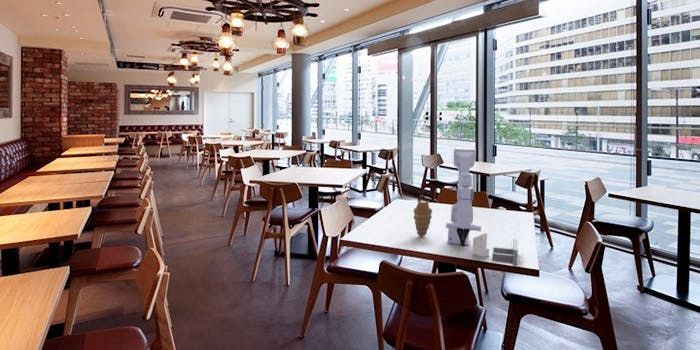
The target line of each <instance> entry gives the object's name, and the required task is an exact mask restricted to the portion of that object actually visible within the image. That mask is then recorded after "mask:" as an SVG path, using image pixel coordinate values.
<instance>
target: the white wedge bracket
mask: <svg viewBox="0 0 700 350" xmlns="http://www.w3.org/2000/svg"><path fill="white" fill-rule="evenodd" d="M487 243H488V233H487V232H486V233H482V234H480V235H477V236H475V237H473V240H472V253H471V254H472V255H476V256H479V257H489V256H490V248H489V247H487Z"/></svg>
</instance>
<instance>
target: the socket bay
mask: <svg viewBox="0 0 700 350" xmlns="http://www.w3.org/2000/svg"><path fill="white" fill-rule="evenodd" d="M512 241H513V243H512V246H513V247H512V248H509V247H508V248H507V247H499V246H493V250H492V255H491V256H492V257H491V259H492V260H495V261H503V262H512V265H515V266H516V265H517V264H518V255H519V254H518V253H519V252H518V251H519V249H518V247H519V245H518V238H513V240H512Z"/></svg>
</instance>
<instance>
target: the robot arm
mask: <svg viewBox="0 0 700 350" xmlns="http://www.w3.org/2000/svg"><path fill="white" fill-rule="evenodd" d="M476 157H477V149H476V148H474V147H473V148H469V147H467V148H466V147H465V148H464V147H454V149H453V165H454V167H456V168H457V170H458V171H457V172H458V181H457V183H458V187H457V192H456V193H457V194H456V197H457V198H456V199H457V202H456V203H454V204H453V205H452V206H451V211H450V222H446V223H445V228H446V229H448V230H447V232H448V234H447V244H455V245H460V247H465V246H469V245H470V242H471V239H469V238H470V232H471V231H475V232H481V231H482V226H481V225H476V224H472V223H473V222H474V207H473V206H472V203H473V200H474V186H473V176H472V175H471V174H470V169H472V168H474V166H475V164H476V163H475V162H476Z"/></svg>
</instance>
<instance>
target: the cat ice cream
mask: <svg viewBox="0 0 700 350" xmlns="http://www.w3.org/2000/svg"><path fill="white" fill-rule="evenodd" d="M429 203H430V200H425V201H423V200H421V199H417V205H416V207H415V208H413V213H414V215H413V219H414V224H415V229H416V234H417V236H420V237H424V236H426V235H427V233H428V230H429V227H430V224H431V219H432V217H433V216H432V213H433V210H432V208H431V207H430V206H429V205H430V204H429Z"/></svg>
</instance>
